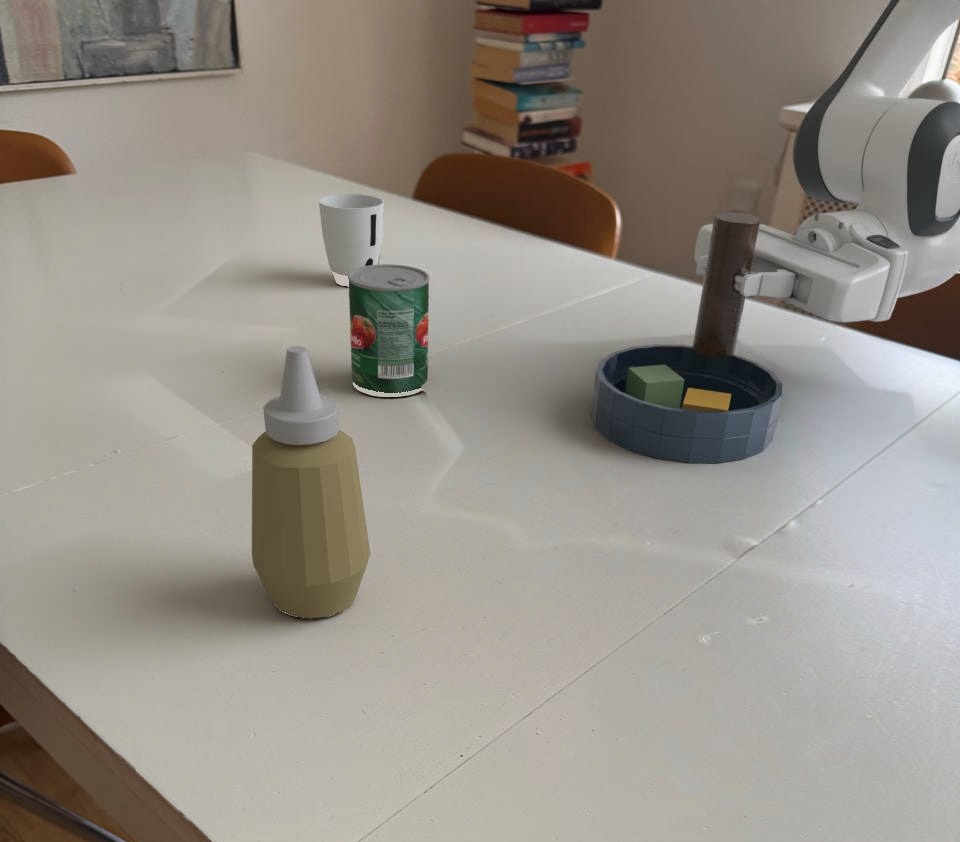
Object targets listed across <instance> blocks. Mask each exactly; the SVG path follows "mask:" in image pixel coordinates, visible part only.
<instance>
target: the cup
mask: <svg viewBox="0 0 960 842" xmlns="http://www.w3.org/2000/svg"><path fill="white" fill-rule="evenodd" d="M318 205H319V216H320V225H321V232H322V233H321V234H322V239H323V245H324V248H325V253H326V258H327V263H328V265H329V268H330V271H331V270H332V271H333V272H335V273H337V274H340V275H345V276H348V274H349V273H350V272H351V271H352V270H354V269H357V268H360V267H364V266H370V265H380V259H381V251H382V244H383V237H384V209H385V200H384V199H383V198H381V197H378V196H375V195H370V194H362V193H337V194H336V193H335V194H329V195H326V196H323V197H320V198H319V199H318Z"/></svg>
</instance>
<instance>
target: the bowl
mask: <svg viewBox="0 0 960 842" xmlns="http://www.w3.org/2000/svg"><path fill="white" fill-rule="evenodd" d="M654 365H666V366H668V367H669V368H670V369H672V370H673V371H674V372H675V373H677V374H678V375H679V376H681V377H682V378H683V379H684V384H683V391H682V397H681V403H680V409H677V408H670V407H664V406H661V405H657V404H653V403H649V402H646V401H642V400H639V399H637V398H634V397H632V396H630V395H628V394H625V390H626V382H627V374H628V368H632V367H643V366H654ZM594 374H595V375H594V383H593V390H592V391H593V392H592V399H591V410H590V418H591V422H592V424H593V426H594V429H595V430H596V431H598V432H599V433H600V434H601V435H602V436H603V437H604V438H605V439H607V440H608V441H609V442H612V443H613V444H616V445H618V446H620V447H622V448H624V449H626V450H628V451H631V452H633V453H637V454H640V455H645V456H647V457H651V458H654V459H660V460H666V461H673V462H681V463H687V464H721V463H727V462H734V461H740V460H745V459H748V458H750V457H752V456H754V455H757V454H760V453H762V452H763V451H764V450H765V449H766V448H767V447H768V446H769V445H770V444H771V443H772V442H773V439H774V436H775V432H776V431H775V430H776V426H777V421H778V417H779V411H780V408H781V404H782V400H783V395H784V383H783V382H782V380H781V379H780V378H779V376H777V374H776V373H775V372H774V371H772V370H771V369H769V368H767V367H766V366H765V365H762V364H761V363H760V362H757V361H754V360H752V359H749V358H746V357H744V356H741V355H739V354H736V353H734V354H733V355H731V356H728V357H710V356H705V355H702V354H699V353H697V352H695V351H694V350H693V345H687V344H661V343H659V344H647V345H638V346H637V345H636V346H630V347H627V348H623V349H620V350H617V351H616V350H615V351H612V352H611V353H609V354H608V355H606V356H604V357H603V358H602V359H599V362H598V364H597V366H596V369H595V373H594ZM688 388H694V389H701V390H708V391H715V392H722V393H728V394H731V399H730V404H729V409H728V411H692V410H685V409H682V406H683V402H684V399H685V396H686V393H687V389H688Z"/></svg>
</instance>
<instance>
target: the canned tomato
mask: <svg viewBox="0 0 960 842" xmlns="http://www.w3.org/2000/svg"><path fill="white" fill-rule="evenodd" d="M348 279H349V287H348V301H349V303H348V304H349V305H348V306H349V325H350V326H349V331H350V335H349V336H350V360H351V366H350V367H351V381H352V380H353V382H354V383H355V384H356V385H358V386H359V387H362V388H365V389H368V390H373V391H376V392H378V391H379V392H384V393H398V392H399V393H401V392H406V391H407V392H408V391H412V390H415V389H419V388H421V387H422V386H423V385H424V384H426V383H427V381H428V375H429V374H428V373H429V372H428V371H429V307H430V303H429V300H430V294H429V293H430V291H429V290H430V289H429V288H430V285H429V283H430V282H429V281H430V275H429V274H428V272H426V271H425V270H423V269H420V268H419V267H414V266H409V265H403V264H392V263H391V264H390V263H389V264H387V263H385V264H379V265H370V266H364V267H360V268H357V269H354V270H352V271H351V272H350V273H349V274H348Z"/></svg>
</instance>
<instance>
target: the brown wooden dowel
mask: <svg viewBox="0 0 960 842" xmlns="http://www.w3.org/2000/svg"><path fill="white" fill-rule="evenodd" d="M712 224H713V229H712V235H711V240H710V246H709V252H708V258H707V264H706V270H705V276H704V278H703V283H702V289H701V293H700V299H699V304H698V305H699V306H698V313H697V317H696V318H697V319H696V322H695V330H694V335H693V341H692V346H693V350H694V351H695V352H697V353H699V354H702V355H705V356H710V357H728V356H731V355H733V354H736V353H735V352H736V349H737V348H736V347H737V342H738V337H739V333H740V327H741V322H742V317H743V316H742V315H743V312H744V307H745V301H746V297H745V296H743V295H741V294H739V293H737V292H735V291H734V290H733V285H734V284H735V276H736V274H737V273H739V272H745V271H751V266H752V261H753V256H754V251H755V246H756V241H757V235H758V230H759V225H760V224H761V218H760V217H758V216H756V215H753V214H751V213H746V212H745V213H744V212H735V211H724V212H719V213H716V214H715V215H714V217H713V223H712Z"/></svg>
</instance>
